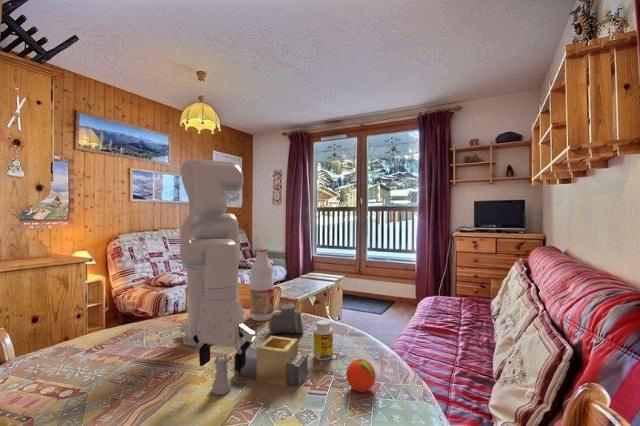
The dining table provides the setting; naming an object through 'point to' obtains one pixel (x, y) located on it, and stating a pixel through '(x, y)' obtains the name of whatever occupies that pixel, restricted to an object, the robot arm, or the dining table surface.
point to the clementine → (360, 375)
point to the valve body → (275, 362)
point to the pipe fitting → (286, 320)
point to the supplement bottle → (323, 340)
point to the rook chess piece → (221, 376)
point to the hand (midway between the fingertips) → (222, 366)
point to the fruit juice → (261, 287)
